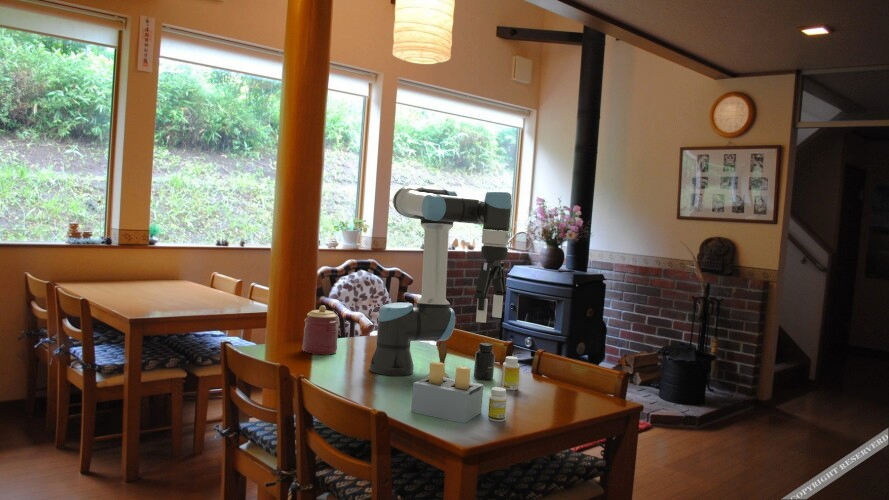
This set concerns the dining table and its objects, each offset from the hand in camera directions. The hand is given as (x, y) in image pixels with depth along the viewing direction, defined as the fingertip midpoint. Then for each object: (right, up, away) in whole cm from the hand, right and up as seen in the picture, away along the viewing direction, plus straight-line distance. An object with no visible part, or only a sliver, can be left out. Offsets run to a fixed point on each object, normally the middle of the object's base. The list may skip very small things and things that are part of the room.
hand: (489, 319), depth 187 cm
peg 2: (-8, -20, -8) cm, 23 cm away
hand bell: (-14, -24, +16) cm, 32 cm away
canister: (-60, -19, +61) cm, 88 cm away
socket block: (-12, -25, -6) cm, 28 cm away
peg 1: (-15, -19, -4) cm, 25 cm away
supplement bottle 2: (+1, -27, -9) cm, 28 cm away
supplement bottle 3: (+8, -26, +27) cm, 38 cm away
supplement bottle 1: (+1, -24, +38) cm, 45 cm away
